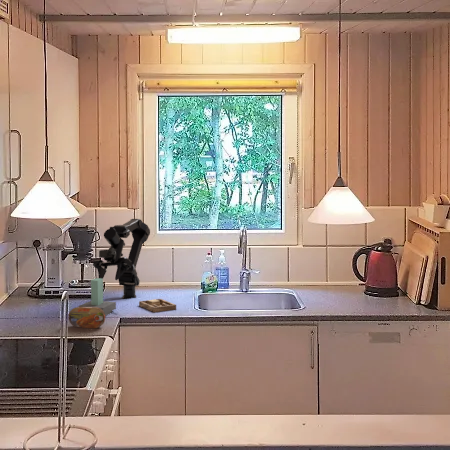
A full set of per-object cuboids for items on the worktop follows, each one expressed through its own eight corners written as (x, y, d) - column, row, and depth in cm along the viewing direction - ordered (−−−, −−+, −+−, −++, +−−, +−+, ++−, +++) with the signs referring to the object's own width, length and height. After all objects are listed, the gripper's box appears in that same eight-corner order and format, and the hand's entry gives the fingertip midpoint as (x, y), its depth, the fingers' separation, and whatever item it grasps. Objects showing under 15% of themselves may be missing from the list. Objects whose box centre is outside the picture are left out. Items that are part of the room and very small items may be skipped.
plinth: (91, 308, 331) (91, 300, 330) (115, 310, 327) (115, 302, 327) (78, 314, 319) (78, 305, 319) (103, 317, 316) (103, 307, 315)
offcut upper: (147, 303, 333) (147, 300, 333) (155, 302, 335) (155, 299, 335) (152, 304, 330) (152, 302, 330) (160, 303, 332) (160, 300, 332)
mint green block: (96, 302, 326) (96, 278, 324) (103, 303, 325) (102, 278, 323) (91, 304, 321) (90, 280, 320) (98, 305, 320) (97, 280, 319)
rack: (139, 307, 333) (139, 301, 333) (160, 305, 339) (160, 298, 339) (154, 314, 321) (154, 307, 320) (176, 311, 327) (176, 304, 326)
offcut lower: (148, 305, 333) (147, 303, 333) (155, 304, 335) (155, 302, 335) (152, 307, 330) (151, 304, 330) (159, 306, 332) (159, 303, 332)
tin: (68, 327, 299) (68, 307, 298) (71, 325, 302) (70, 305, 301) (103, 329, 296) (103, 308, 295) (106, 327, 299) (106, 306, 298)
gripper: (89, 243, 336) (80, 274, 329) (121, 239, 327) (113, 271, 319) (104, 254, 344) (96, 285, 337) (135, 251, 335) (128, 282, 328)
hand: (107, 280), depth 330 cm, fingers open, 9 cm apart
